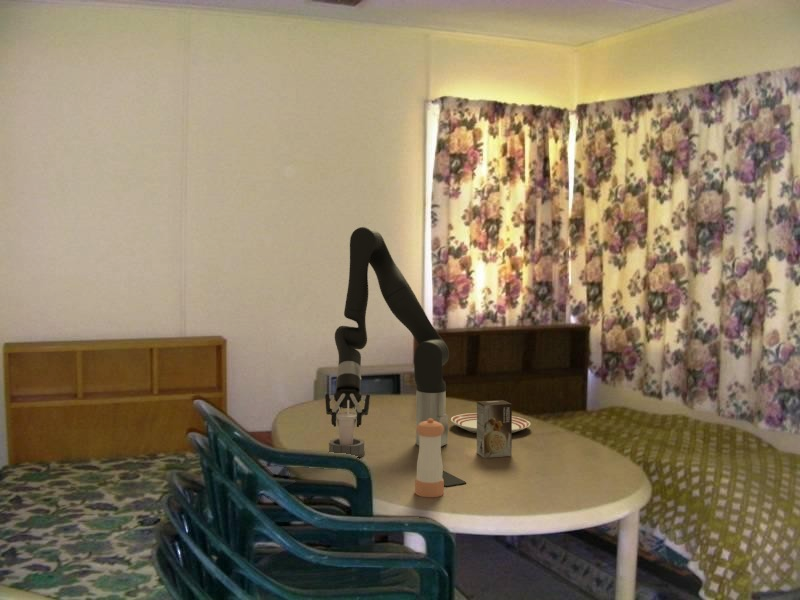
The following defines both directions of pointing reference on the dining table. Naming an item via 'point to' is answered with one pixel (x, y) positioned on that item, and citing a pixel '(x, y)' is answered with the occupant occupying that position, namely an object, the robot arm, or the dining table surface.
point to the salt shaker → (429, 460)
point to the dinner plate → (470, 422)
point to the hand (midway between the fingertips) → (346, 425)
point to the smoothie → (346, 426)
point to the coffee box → (494, 428)
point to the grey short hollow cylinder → (348, 447)
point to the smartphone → (451, 480)
